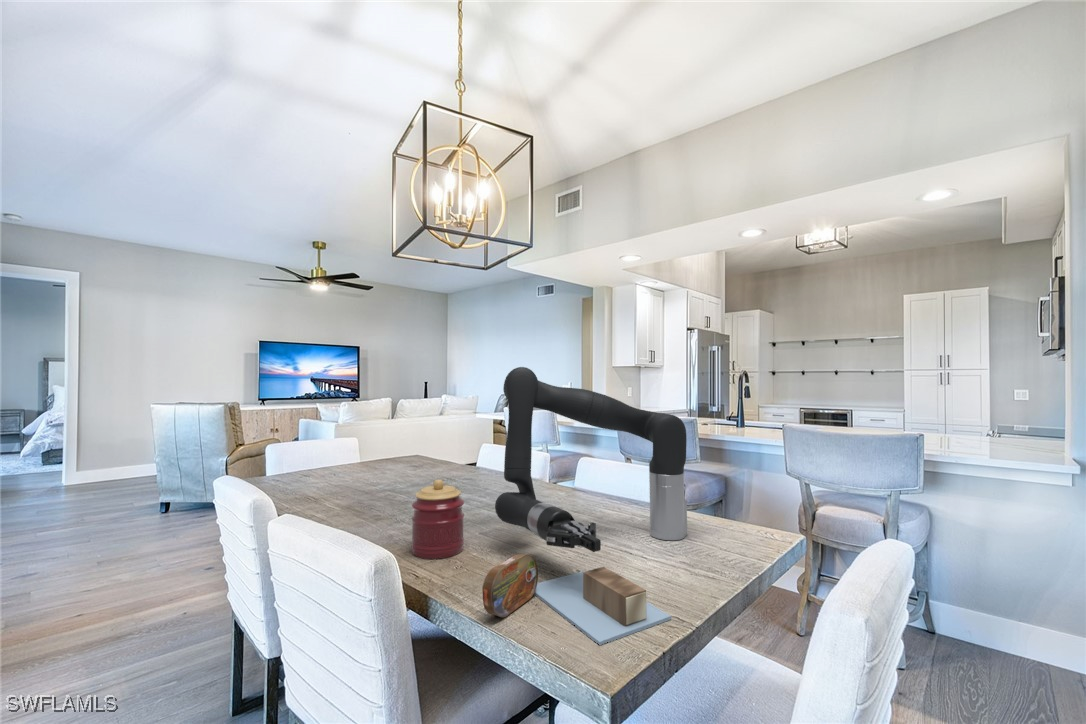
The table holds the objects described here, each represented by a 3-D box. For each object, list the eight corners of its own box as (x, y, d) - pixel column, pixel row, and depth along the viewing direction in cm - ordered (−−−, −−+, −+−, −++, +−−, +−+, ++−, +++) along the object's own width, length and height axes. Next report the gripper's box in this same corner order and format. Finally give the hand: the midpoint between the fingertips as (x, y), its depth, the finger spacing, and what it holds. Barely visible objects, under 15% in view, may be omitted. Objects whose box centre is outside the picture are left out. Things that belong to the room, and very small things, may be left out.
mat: (590, 572, 103) (590, 569, 103) (671, 619, 83) (671, 615, 83) (527, 588, 95) (527, 585, 95) (599, 645, 75) (599, 641, 75)
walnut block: (603, 566, 92) (647, 590, 82) (603, 592, 92) (647, 619, 82) (583, 572, 90) (625, 597, 79) (583, 598, 90) (625, 627, 79)
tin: (494, 625, 81) (492, 575, 81) (479, 621, 82) (478, 572, 83) (540, 592, 93) (538, 549, 94) (527, 589, 95) (525, 547, 96)
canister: (440, 563, 109) (440, 487, 109) (399, 553, 115) (400, 481, 116) (474, 546, 120) (474, 477, 121) (436, 538, 126) (436, 472, 127)
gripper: (524, 510, 102) (569, 532, 87) (574, 502, 109) (623, 521, 94) (524, 545, 101) (569, 573, 87) (574, 534, 108) (624, 559, 93)
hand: (597, 546), depth 90 cm, fingers closed
